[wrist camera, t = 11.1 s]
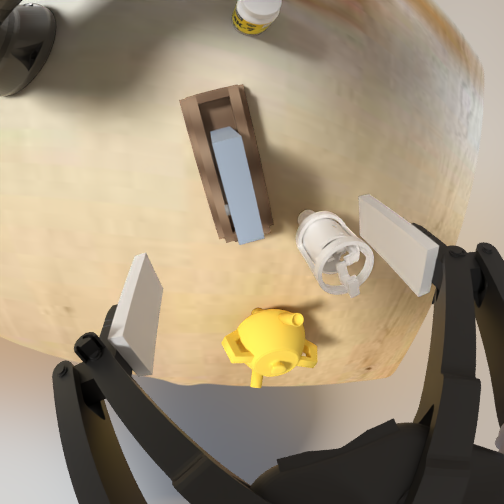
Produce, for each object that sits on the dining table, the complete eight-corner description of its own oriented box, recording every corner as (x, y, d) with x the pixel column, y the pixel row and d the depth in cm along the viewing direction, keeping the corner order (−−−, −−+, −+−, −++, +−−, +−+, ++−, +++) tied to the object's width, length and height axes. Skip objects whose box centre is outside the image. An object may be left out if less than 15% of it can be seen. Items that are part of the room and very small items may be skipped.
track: (180, 100, 30) (177, 100, 27) (242, 84, 30) (245, 83, 28) (219, 236, 40) (220, 245, 38) (272, 221, 41) (276, 230, 38)
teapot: (236, 273, 44) (246, 322, 35) (329, 291, 49) (354, 333, 40) (207, 352, 53) (210, 399, 43) (286, 360, 58) (299, 401, 48)
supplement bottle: (223, 20, 25) (228, -3, 18) (250, 1, 24) (262, -24, 17) (249, 42, 27) (262, 25, 20) (275, 23, 26) (295, 3, 19)
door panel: (205, 132, 32) (205, 145, 22) (229, 126, 32) (241, 135, 22) (225, 203, 37) (233, 246, 27) (247, 197, 37) (264, 238, 27)
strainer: (293, 246, 43) (329, 309, 30) (278, 208, 40) (314, 264, 27) (333, 228, 43) (381, 283, 30) (321, 189, 39) (374, 235, 26)
